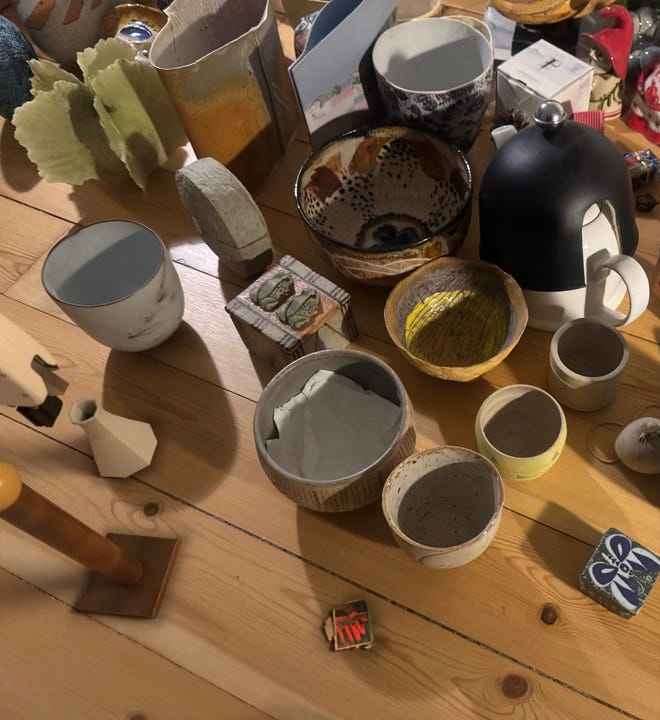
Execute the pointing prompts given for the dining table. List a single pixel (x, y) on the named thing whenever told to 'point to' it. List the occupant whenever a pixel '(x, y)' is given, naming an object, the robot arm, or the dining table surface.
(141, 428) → the flask
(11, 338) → the robot arm
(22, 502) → the post
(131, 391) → the dining table surface
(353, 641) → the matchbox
